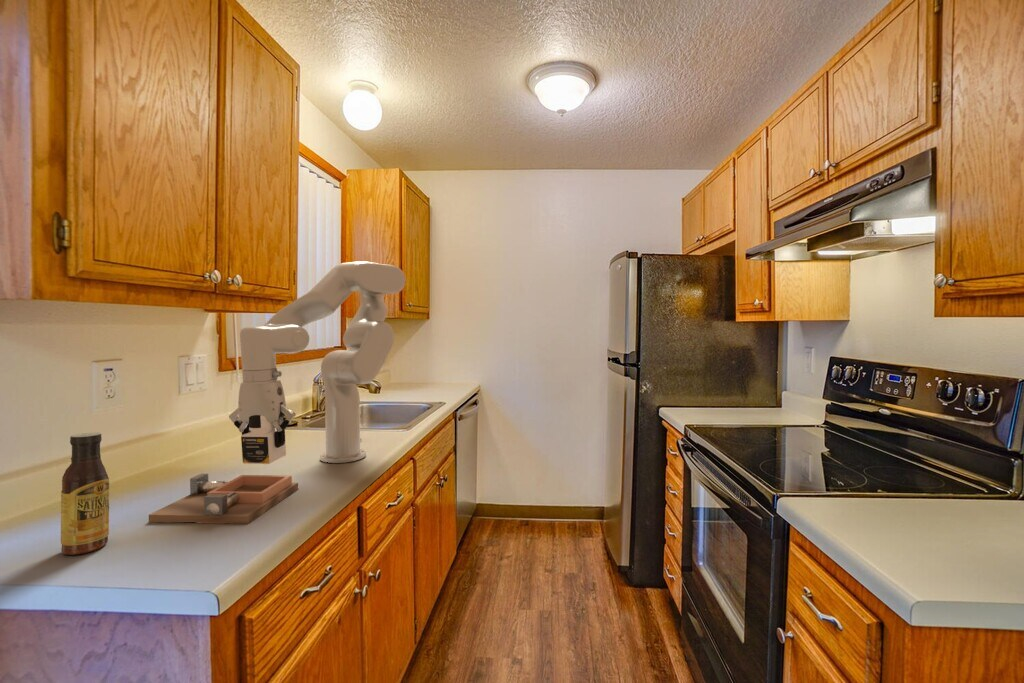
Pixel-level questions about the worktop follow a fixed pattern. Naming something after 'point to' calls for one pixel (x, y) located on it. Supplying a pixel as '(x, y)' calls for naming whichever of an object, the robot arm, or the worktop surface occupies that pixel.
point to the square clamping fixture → (227, 499)
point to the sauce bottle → (84, 497)
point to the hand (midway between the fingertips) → (264, 445)
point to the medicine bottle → (260, 442)
